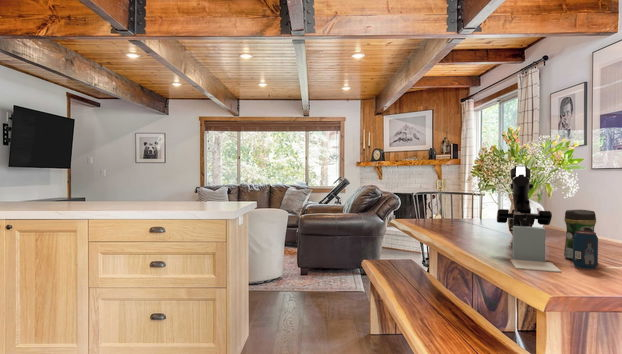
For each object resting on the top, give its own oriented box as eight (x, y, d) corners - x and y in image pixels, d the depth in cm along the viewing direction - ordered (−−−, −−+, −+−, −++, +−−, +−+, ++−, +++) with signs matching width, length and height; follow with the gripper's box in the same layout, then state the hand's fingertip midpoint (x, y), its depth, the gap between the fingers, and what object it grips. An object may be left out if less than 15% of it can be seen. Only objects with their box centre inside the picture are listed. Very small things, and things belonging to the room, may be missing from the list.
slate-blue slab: (512, 257, 149) (512, 225, 149) (542, 260, 146) (543, 227, 146) (513, 259, 146) (514, 227, 146) (544, 262, 142) (545, 228, 142)
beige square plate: (510, 260, 144) (510, 259, 144) (551, 263, 140) (551, 262, 140) (516, 268, 131) (516, 267, 131) (561, 272, 127) (561, 271, 127)
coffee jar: (586, 257, 151) (586, 208, 151) (600, 262, 144) (601, 210, 143) (559, 257, 152) (560, 208, 152) (572, 261, 144) (573, 210, 144)
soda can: (582, 264, 139) (583, 230, 139) (602, 269, 132) (603, 233, 132) (567, 265, 137) (568, 231, 137) (587, 270, 130) (588, 233, 130)
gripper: (544, 217, 164) (550, 248, 153) (494, 214, 170) (496, 244, 160) (549, 198, 156) (555, 230, 146) (496, 197, 163) (499, 227, 152)
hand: (525, 233), depth 151 cm, fingers closed
